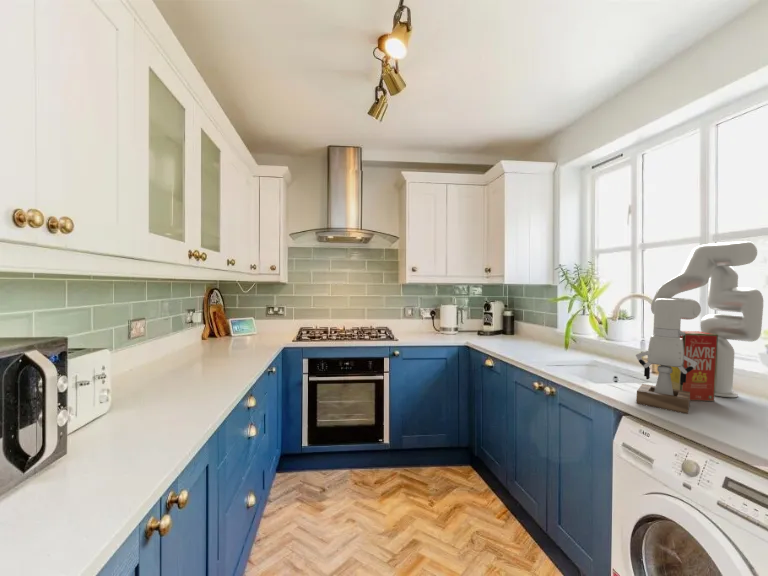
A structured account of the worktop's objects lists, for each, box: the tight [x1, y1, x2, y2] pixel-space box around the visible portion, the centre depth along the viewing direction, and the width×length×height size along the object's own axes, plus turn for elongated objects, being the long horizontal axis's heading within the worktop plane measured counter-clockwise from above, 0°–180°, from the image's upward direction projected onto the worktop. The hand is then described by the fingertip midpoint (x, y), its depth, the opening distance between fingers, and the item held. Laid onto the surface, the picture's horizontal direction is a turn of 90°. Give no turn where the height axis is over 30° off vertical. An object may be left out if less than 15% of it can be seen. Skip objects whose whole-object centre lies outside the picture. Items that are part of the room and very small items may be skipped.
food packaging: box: [669, 330, 718, 402], centre depth 140 cm, size 13×9×25 cm
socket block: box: [635, 383, 691, 415], centre depth 131 cm, size 14×14×5 cm
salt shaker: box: [654, 365, 674, 396], centre depth 131 cm, size 6×6×13 cm
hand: (664, 381), depth 131 cm, fingers open, 9 cm apart
